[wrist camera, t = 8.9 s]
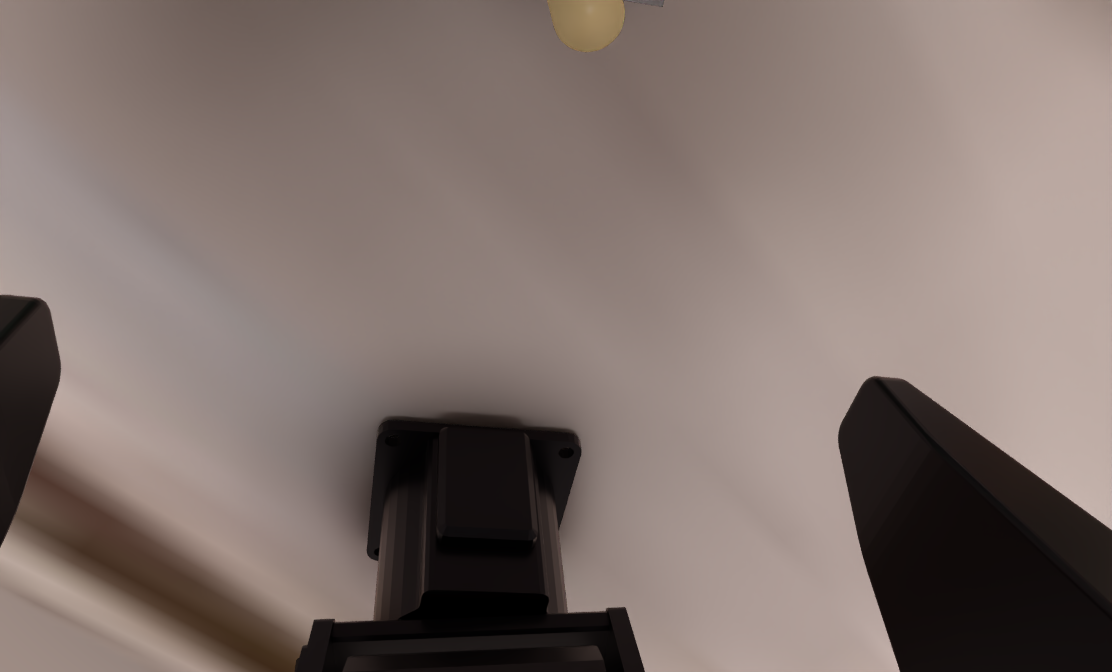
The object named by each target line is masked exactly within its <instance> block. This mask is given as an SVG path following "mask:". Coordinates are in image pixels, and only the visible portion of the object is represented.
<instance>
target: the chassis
mask: <svg viewBox="0 0 1112 672" xmlns="http://www.w3.org/2000/svg"><path fill="white" fill-rule="evenodd" d="M624 1H630V2H636V3H641V4H647V5H653V6H659V7H663V3H664V0H624ZM547 2H548V6H549V10H550V14H551V17H552V21H553V25H554V29H555V31H556V34H557V35H558V37H559V38H560V40H561V41H562V42H563V43H564V44H565V45H567V46H568V47H570V48H572V49H574V50H576V51H581V52H593V51H597V50H600V49H602V48H604V47H606V46H608V45H609V44H610V43H612V42H613V41H614V40H615V38H616V37H617V36H618V34H619V33H620V31H621V29H622V26H623V23H624V18H625V8H624V3H623V0H547Z"/></svg>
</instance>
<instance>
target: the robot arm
mask: <svg viewBox="0 0 1112 672" xmlns="http://www.w3.org/2000/svg"><path fill="white" fill-rule="evenodd" d="M60 375H61V361H60V356H59V351H58V346H57V341H56V336H55V331H54V327H53V322H52V317H51V312H50V309H49V307H48V305H47V303H46V302H45V301H43V300H42V299H40V298H35V297H25V296H14V295H0V547H1V545H2V543H3V541H4V539H5V536H6V534H7V532H8V530H9V528H10V525H11V523H12V521H13V518H14V516H15V514H16V512H17V509H18V506H19V503H20V500H21V498H22V495H23V492H24V489H25V486H26V483H27V480H28V477H29V474H30V471H31V468H32V465H33V462H34V458H35V455H36V452H37V449H38V446H39V443H40V440H41V437H42V434H43V431H44V428H45V425H46V422H47V419H48V416H49V413H50V409H51V406H52V403H53V400H54V397H55V394H56V391H57V388H58V385H59V381H60ZM389 435H396V436H399V437H394V438H393V437H389ZM838 443H839V449H840V454H841V459H842V464H843V468H844V473H845V478H846V483H847V487H848V492H849V497H850V502H851V506H852V511H853V516H854V521H855V525H856V530H857V535H858V539H859V543H860V547H861V551H862V555H863V559H864V562H865V565H866V569H867V572H868V575H869V578H870V581H871V584H872V587H873V591H874V594H875V597H876V600H877V603H878V606H879V609H880V612H881V615H882V618H883V621H884V624H885V627H886V630H887V633H888V636H889V639H890V642H891V645H892V648H893V652H894V655H895V658H896V661H897V664H898V667H899V670H900V672H1112V530H1111V529H1110V528H1108V527H1107V526H1105V525H1104V524H1103V523H1101V522H1100V521H1099V520H1097V519H1096V518H1094V517H1093V516H1092V515H1090V514H1089V513H1088V512H1086V511H1085V510H1083V509H1082V508H1081V507H1079V506H1078V505H1077V504H1075V503H1074V502H1072V501H1071V500H1070V499H1068V498H1067V497H1065V496H1064V495H1063V494H1061V493H1060V492H1059V491H1057V490H1056V489H1054V488H1053V487H1052V486H1050V485H1049V484H1048V483H1046V482H1045V481H1043V480H1042V479H1041V478H1039V477H1038V476H1037V475H1035V474H1034V473H1032V472H1031V471H1030V470H1028V469H1027V468H1026V467H1024V466H1023V465H1021V464H1020V463H1019V462H1017V461H1016V460H1015V459H1013V458H1012V457H1010V456H1009V455H1008V454H1006V453H1005V452H1004V451H1002V450H1001V449H999V448H998V447H997V446H995V445H994V444H993V443H991V442H990V441H988V440H987V439H986V438H984V437H983V436H982V435H980V434H979V433H977V432H976V431H975V430H973V429H972V428H971V427H969V426H968V425H966V424H965V423H964V422H962V421H961V420H960V419H958V418H957V417H955V416H954V415H953V414H951V413H950V412H949V411H947V410H946V409H944V408H943V407H942V406H940V405H939V404H938V403H936V402H935V401H933V400H932V399H931V398H929V397H928V396H927V395H925V394H924V393H922V392H921V391H920V390H918V389H917V388H915V387H914V386H913V385H911V384H910V383H909V382H907V381H905V380H903V379H900V378H890V377H879V376H874V377H870V378H868V379H867V380H866V381H865V382H864V383H863V384H862V386H861V388H860V389H859V391H858V393H857V395H856V397H855V399H854V401H853V402H852V404H851V406H850V408H849V410H848V412H847V413H846V415H845V417H844V419H843V421H842V423H841V425H840V429H839V434H838ZM565 447H569V448H568V449H562V448H565ZM580 457H581V444H580V440H579V438H578V437H577V436H575V435H574V434H570V433H561V432H548V431H534V430H520V429H507V428H493V427H480V426H466V425H453V424H439V423H426V422H412V421H398V420H391V421H387V422H384V423H382V424H381V425H380V426H379V428H378V433H377V443H376V454H375V465H374V476H373V487H372V498H371V510H370V521H369V532H368V543H367V555H368V556H369V557H370V558H372V559H374V560H377V561H378V573H377V584H376V596H375V607H374V619H373V621H352V622H335V619H320V620H314V622H313V626H312V630H311V634H310V638H309V642H308V645H304V646H303V647H302V650H301V654H300V658H298V659H297V660H296V666H295V672H645V670H644V667H643V664H642V660H641V657H640V654H639V650H638V647H637V644H636V640H635V637H634V634H633V630H632V627H631V624H630V620H629V617H628V614H627V611H626V608H625V607H619V608H606V611H599V612H574V613H568V610H567V601H566V592H565V584H564V575H563V566H562V558H561V549H560V540H559V532H558V531H559V527H560V524H561V521H562V517H563V514H564V511H565V507H566V504H567V500H568V497H569V494H570V490H571V487H572V484H573V480H574V477H575V473H576V470H577V467H578V463H579V460H580Z"/></svg>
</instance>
